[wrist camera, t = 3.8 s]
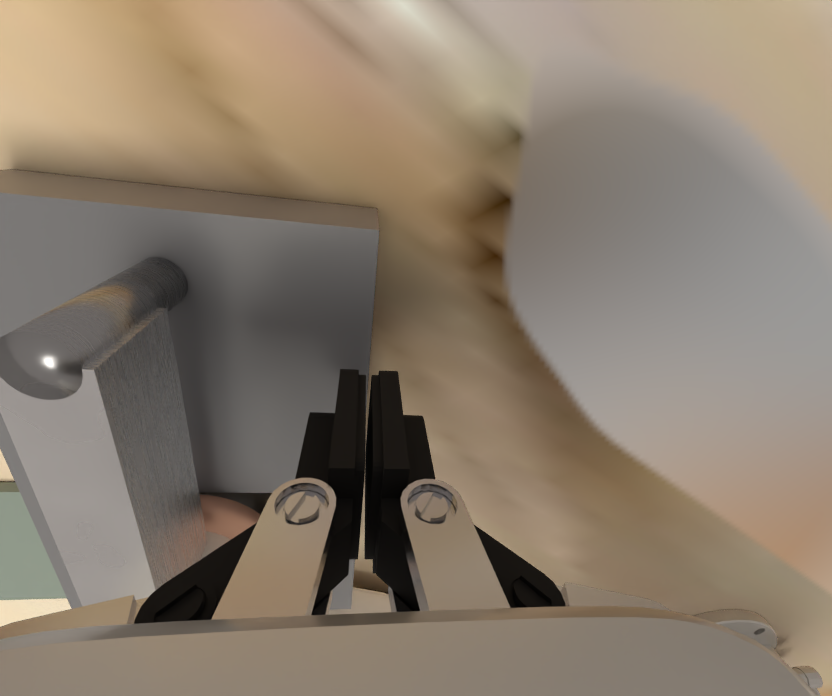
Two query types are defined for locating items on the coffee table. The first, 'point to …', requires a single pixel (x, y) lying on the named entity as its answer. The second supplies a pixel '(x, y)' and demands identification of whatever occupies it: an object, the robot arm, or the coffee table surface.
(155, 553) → the clip
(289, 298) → the grey block with hole
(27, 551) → the mat
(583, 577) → the coffee table surface
